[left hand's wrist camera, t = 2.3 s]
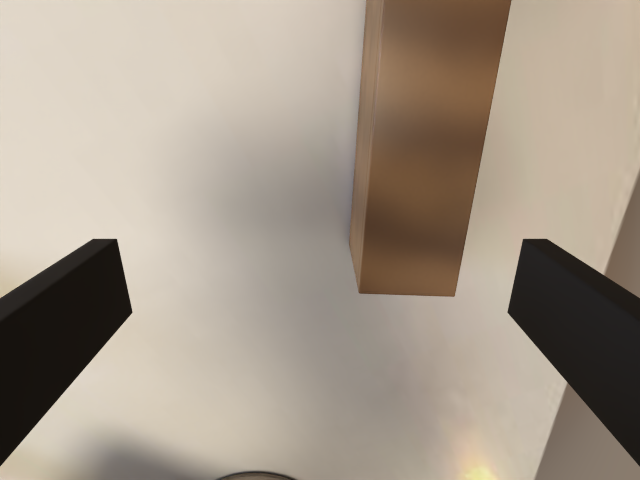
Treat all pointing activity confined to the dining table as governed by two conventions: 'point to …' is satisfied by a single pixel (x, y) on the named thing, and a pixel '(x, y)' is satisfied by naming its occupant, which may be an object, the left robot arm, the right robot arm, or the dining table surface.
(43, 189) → the dining table surface
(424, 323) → the dining table surface
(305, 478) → the dining table surface
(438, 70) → the brown wooden brick
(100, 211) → the dining table surface
